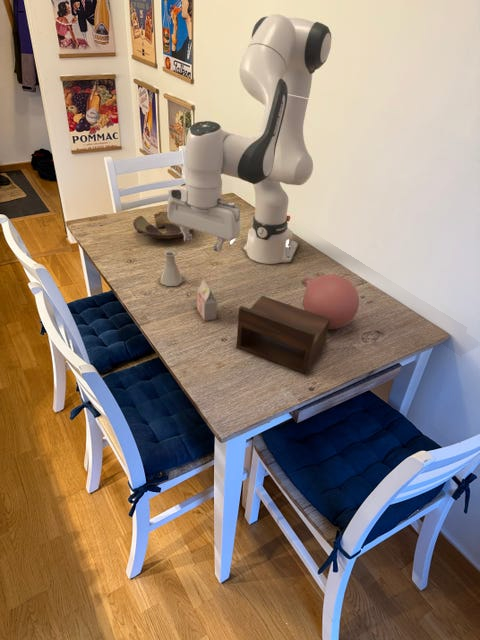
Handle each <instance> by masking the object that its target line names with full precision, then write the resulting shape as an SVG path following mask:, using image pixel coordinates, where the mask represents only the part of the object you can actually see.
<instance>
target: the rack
mask: <svg viewBox="0 0 480 640" xmlns="http://www.w3.org/2000/svg"><path fill="white" fill-rule="evenodd" d="M237 317H238V318H237V331H236V347H235V348H236V349H239V350H241V351H244V352H245V353H248V354H251V355H254V356H255V357H259V358H261V359H263V360H266V361H268V362H271V363H273V364H276V365H278V366H281V367H283V368H286V369H289V370H292V371H293V372H296V373H299V374H301V375H304V376H307V375H308V372H309V371H310V369H311V368H312V366H313V365H314V363H315V361H316V360H317V358H318V356H319V355H320V353H321V351H322V350H323V348H324V347H325V346H326V345H325V344H326V341H327V340H326V339H327V336H328V332H329V329H328V328H329V323H330V319H329V318H326V317H323V316H320V315H318V314H315V313H312V312H309V311H306V310H304V308H300V307H297V306H294V305H291V304H288V303H285V302H282V301H279V300H276V299H273V298H270V297H269V296H265V295H261V296H260V297H259V298H258V299H257V300H256V301H255V303H253V305H252V306H251V307H250V308H248V307H246V306H243V305H240V307H239V308H238V316H237Z"/></svg>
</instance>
